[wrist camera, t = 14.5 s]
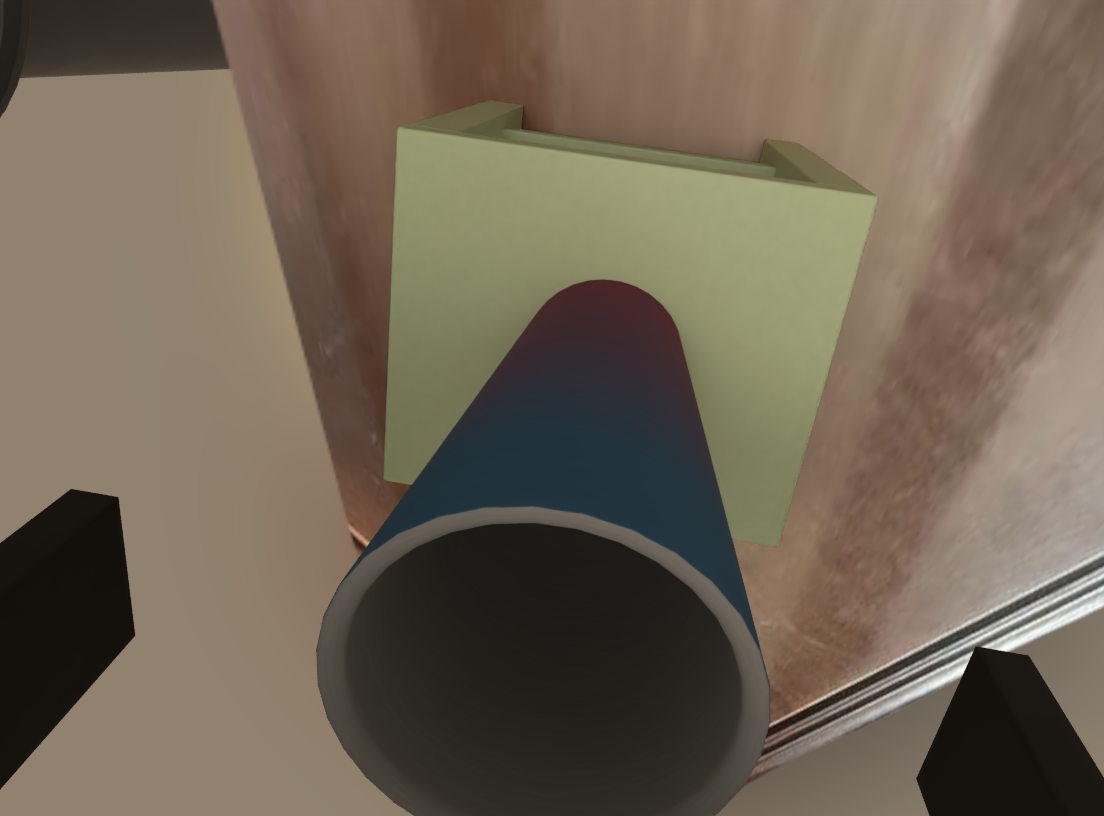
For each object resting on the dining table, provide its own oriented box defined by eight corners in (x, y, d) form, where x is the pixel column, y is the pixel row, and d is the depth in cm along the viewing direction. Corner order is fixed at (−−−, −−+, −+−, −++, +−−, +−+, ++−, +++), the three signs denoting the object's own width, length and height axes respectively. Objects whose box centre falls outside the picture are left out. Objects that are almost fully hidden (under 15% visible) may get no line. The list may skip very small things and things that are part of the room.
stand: (468, 348, 41) (382, 481, 28) (488, 99, 36) (396, 126, 23) (741, 391, 40) (778, 548, 28) (800, 143, 35) (880, 196, 23)
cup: (668, 215, 23) (677, 442, 10) (740, 415, 26) (828, 822, 12) (462, 295, 25) (232, 581, 12) (546, 475, 28) (435, 890, 14)
